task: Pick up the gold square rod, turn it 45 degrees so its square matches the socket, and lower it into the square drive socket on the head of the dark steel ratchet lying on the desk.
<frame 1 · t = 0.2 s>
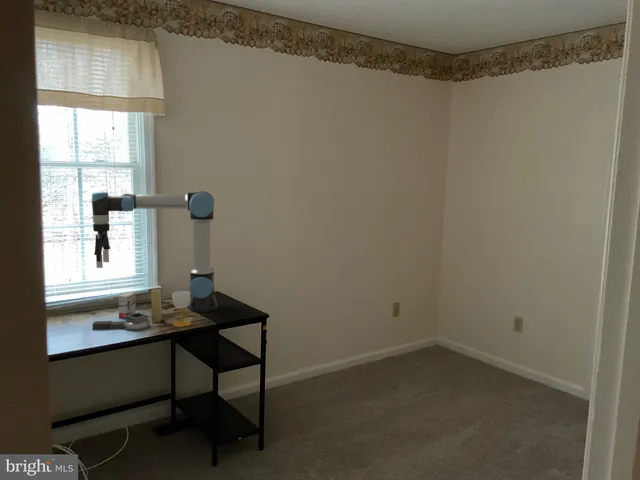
hand: (103, 264, 270), 28 cm above the table, fingers open, 13 cm apart
gold square rod: (156, 321, 272), on the table
ratchet: (137, 327, 262), on the table
ink box: (127, 316, 279), on the table
cup: (181, 324, 268), on the table
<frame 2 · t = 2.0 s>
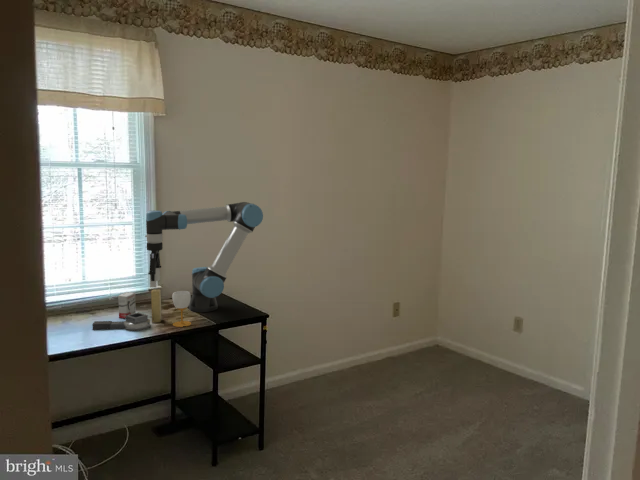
hand: (155, 283, 268), 19 cm above the table, fingers open, 13 cm apart
nothing on the table moved.
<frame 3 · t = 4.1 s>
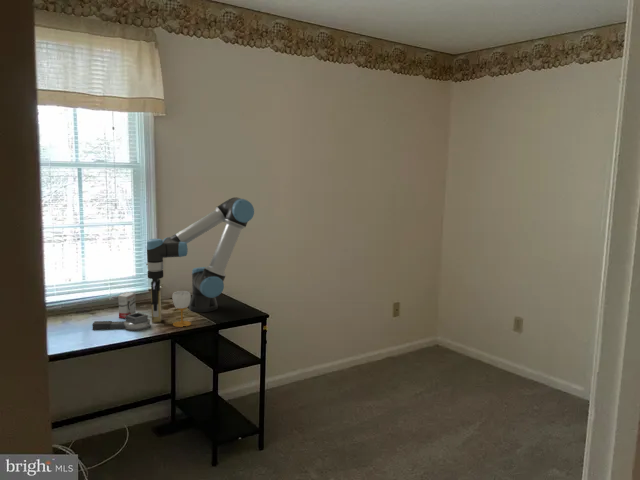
hand: (156, 315, 271), 3 cm above the table, fingers closed on gold square rod, 4 cm apart
gold square rod: (156, 321, 272), on the table, touching gripper
everything else where it was.
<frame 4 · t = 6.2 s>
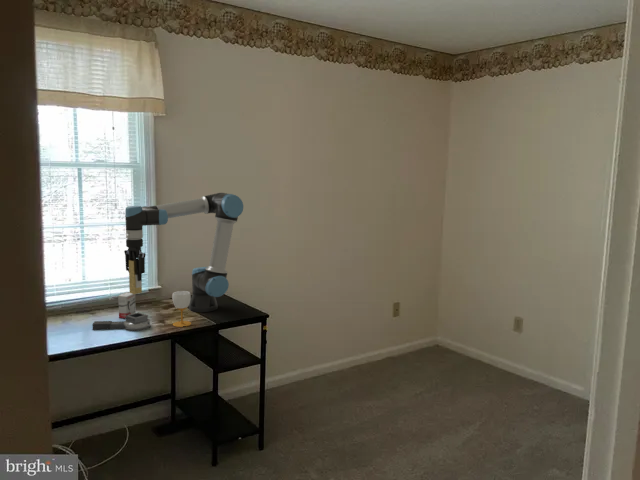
hand: (135, 286, 258), 20 cm above the table, fingers closed on gold square rod, 4 cm apart
gold square rod: (135, 292, 259), point 17 cm above the table, touching gripper
everything else where it was.
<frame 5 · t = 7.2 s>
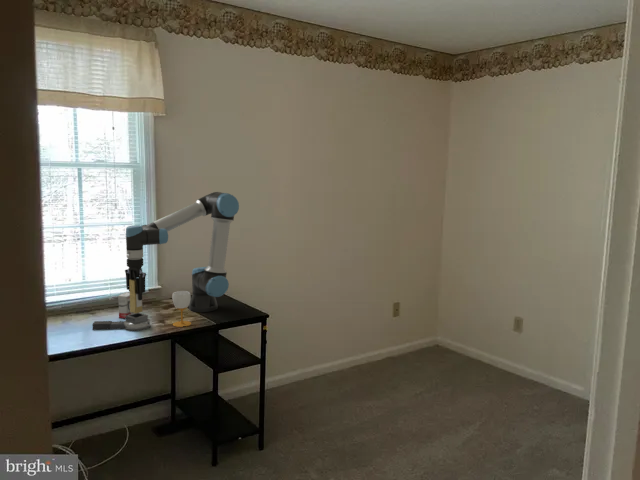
hand: (136, 305, 260), 11 cm above the table, fingers closed on gold square rod, 4 cm apart
gold square rod: (136, 311, 260), point 8 cm above the table, touching gripper
everything else where it was.
when the fingers open (7 cm above the table, at t = 8.2 s): gold square rod drops 1 cm, resting on ratchet.
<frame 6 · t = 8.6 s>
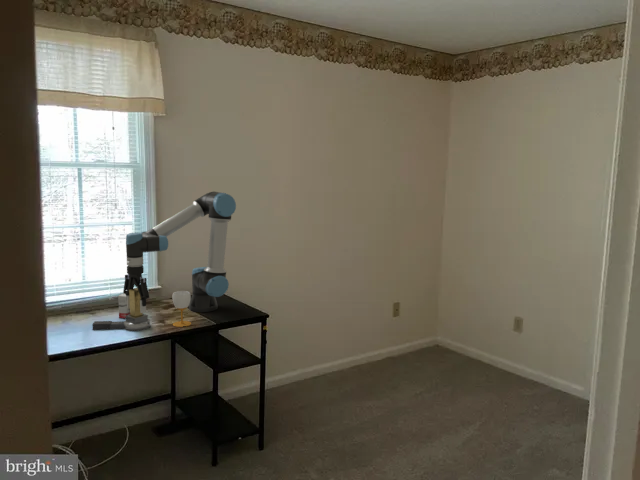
hand: (136, 310, 260), 8 cm above the table, fingers open, 10 cm apart
gold square rod: (136, 321, 261), point 3 cm above the table, touching ratchet
everything else where it was.
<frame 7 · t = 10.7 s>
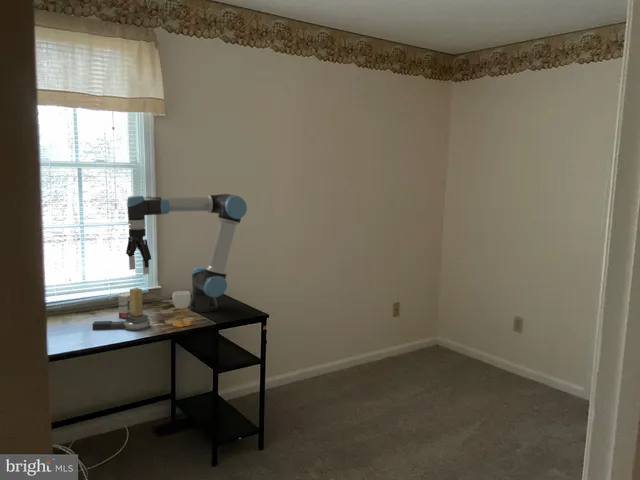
hand: (139, 271, 260), 27 cm above the table, fingers open, 13 cm apart
nothing on the table moved.
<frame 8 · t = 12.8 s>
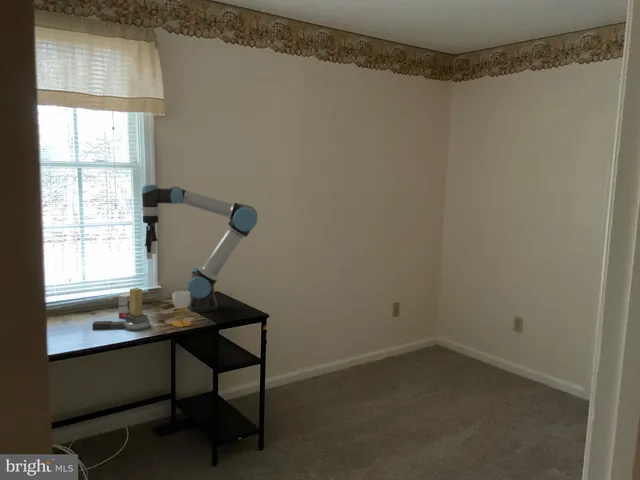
hand: (151, 256, 275), 32 cm above the table, fingers open, 13 cm apart
nothing on the table moved.
at the end: gold square rod 0.0 cm off-centre on the ratchet, point 3.0 cm above the ratchet's base; gold square rod tilted 0°; the gripper is holding nothing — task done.
